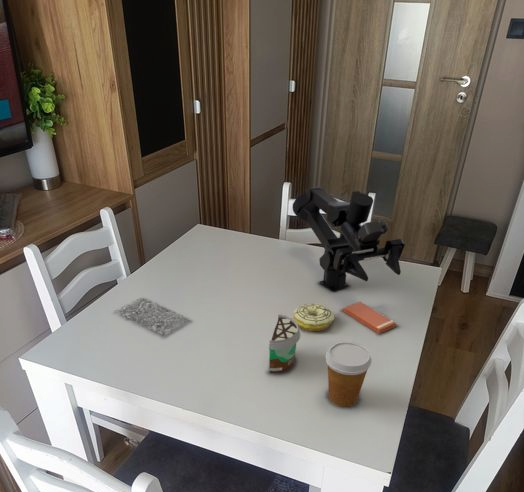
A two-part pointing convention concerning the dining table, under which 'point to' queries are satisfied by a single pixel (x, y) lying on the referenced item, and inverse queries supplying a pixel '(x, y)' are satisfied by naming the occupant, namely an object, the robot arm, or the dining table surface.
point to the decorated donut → (313, 317)
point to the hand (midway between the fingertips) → (383, 276)
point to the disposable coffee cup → (346, 372)
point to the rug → (152, 316)
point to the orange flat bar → (369, 317)
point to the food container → (283, 344)
